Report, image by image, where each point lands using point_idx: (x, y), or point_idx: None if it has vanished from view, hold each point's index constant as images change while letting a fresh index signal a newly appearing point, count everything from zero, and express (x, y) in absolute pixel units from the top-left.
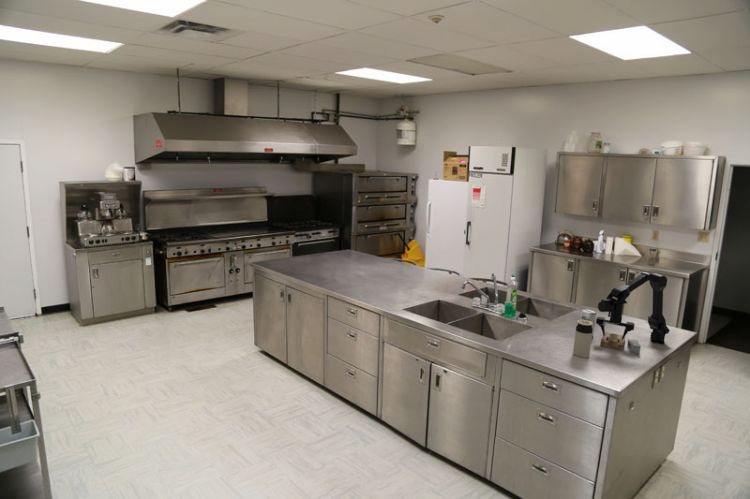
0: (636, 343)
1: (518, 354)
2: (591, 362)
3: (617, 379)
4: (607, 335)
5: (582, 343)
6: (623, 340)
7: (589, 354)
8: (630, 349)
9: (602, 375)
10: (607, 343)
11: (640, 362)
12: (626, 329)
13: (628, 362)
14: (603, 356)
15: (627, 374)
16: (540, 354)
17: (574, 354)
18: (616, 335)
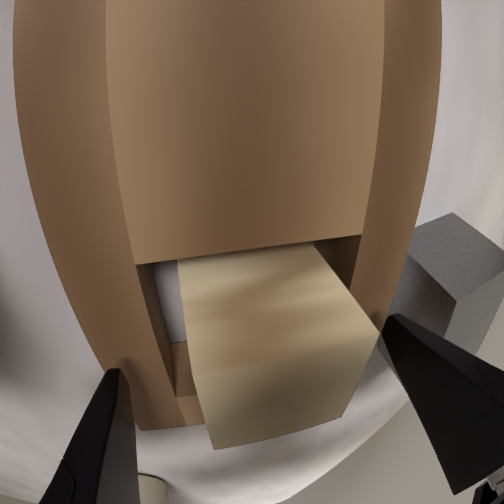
0: (469, 347)
1: (24, 499)
2: (193, 491)
3: (285, 491)
4: (119, 187)
5: None
6: (399, 254)
7: (166, 490)
8: (394, 371)
9: (246, 500)
10: None
11: (393, 396)
12: (479, 478)
13: (337, 430)
14: (219, 458)
15: (315, 471)
16: None
17: None
18: (331, 395)
